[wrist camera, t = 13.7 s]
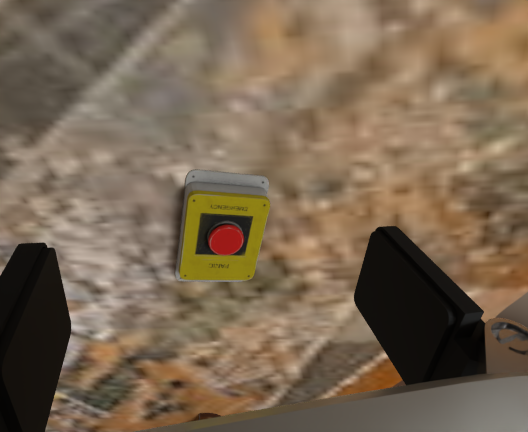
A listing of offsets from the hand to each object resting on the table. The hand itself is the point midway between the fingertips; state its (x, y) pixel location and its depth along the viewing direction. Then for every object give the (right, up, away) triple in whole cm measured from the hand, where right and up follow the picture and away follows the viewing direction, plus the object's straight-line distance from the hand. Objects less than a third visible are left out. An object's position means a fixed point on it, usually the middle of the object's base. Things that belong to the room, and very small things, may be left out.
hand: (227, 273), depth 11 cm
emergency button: (-4, 0, +33) cm, 34 cm away
